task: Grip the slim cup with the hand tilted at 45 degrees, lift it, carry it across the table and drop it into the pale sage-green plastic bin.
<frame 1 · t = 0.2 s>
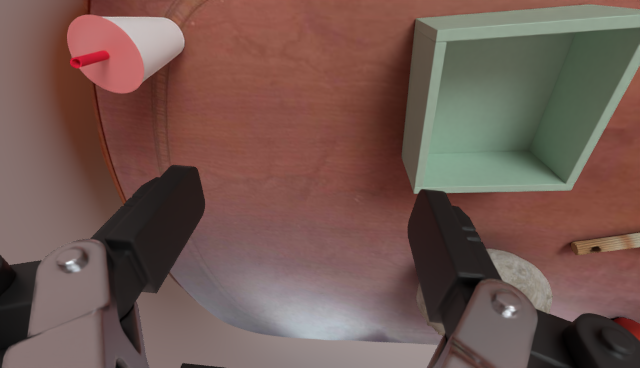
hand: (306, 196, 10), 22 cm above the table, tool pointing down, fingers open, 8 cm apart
decorative shell: (466, 269, 46), on the table
cup: (168, 36, 28), on the table
bin: (479, 93, 29), on the table
apple: (618, 319, 51), on the table
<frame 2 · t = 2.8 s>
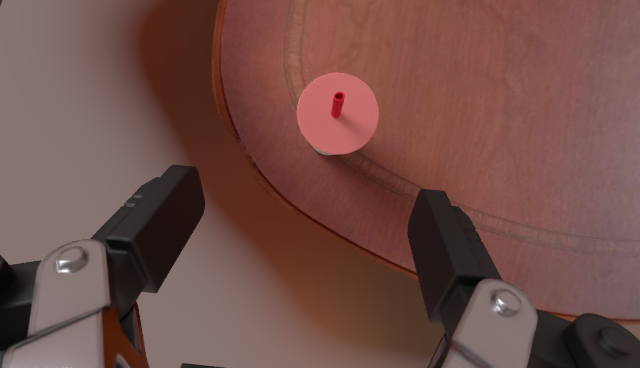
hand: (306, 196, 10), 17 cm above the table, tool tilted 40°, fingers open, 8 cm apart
cup: (328, 138, 28), on the table
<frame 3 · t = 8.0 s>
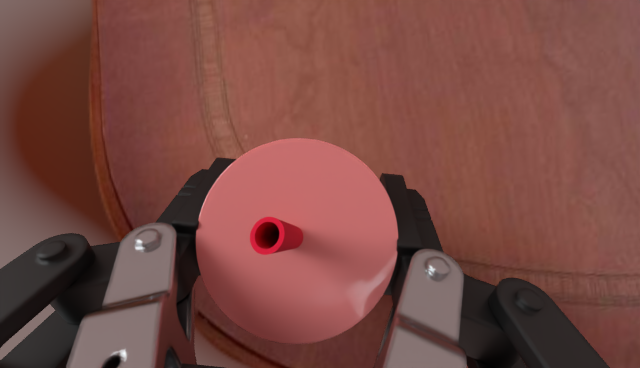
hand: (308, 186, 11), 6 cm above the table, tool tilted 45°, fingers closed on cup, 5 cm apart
cup: (308, 231, 16), on the table, touching gripper
when the fingers open (11 cm above the table, at t = 17.1 s): cup drops 4 cm, resting on bin.
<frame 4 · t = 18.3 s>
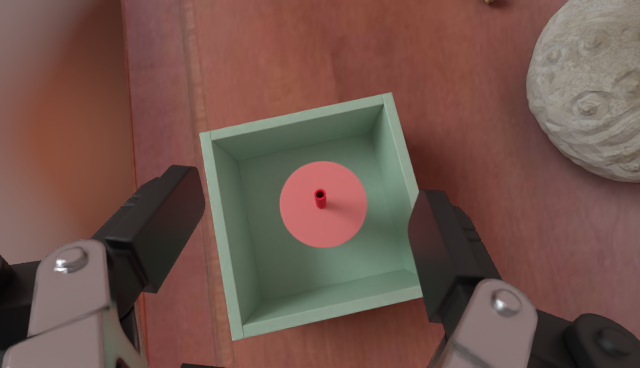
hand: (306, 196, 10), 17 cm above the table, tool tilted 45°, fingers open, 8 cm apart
decorative shell: (587, 103, 29), on the table
cup: (320, 215, 26), point 1 cm above the table, touching bin
bin: (318, 213, 27), on the table
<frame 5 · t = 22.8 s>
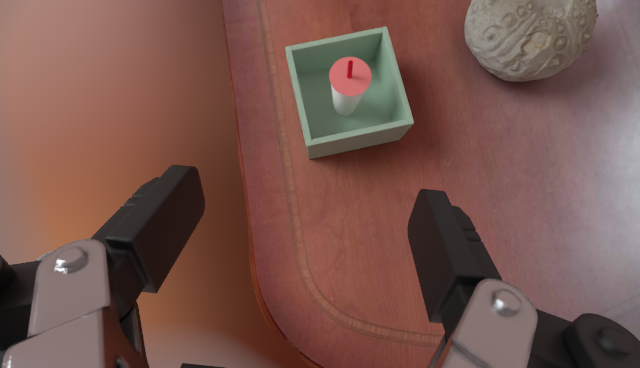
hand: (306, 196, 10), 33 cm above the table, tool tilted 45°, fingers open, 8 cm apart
decorative shell: (504, 44, 47), on the table
cup: (344, 106, 45), point 1 cm above the table, touching bin
bin: (343, 106, 45), on the table
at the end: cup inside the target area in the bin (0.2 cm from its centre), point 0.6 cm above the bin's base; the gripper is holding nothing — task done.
